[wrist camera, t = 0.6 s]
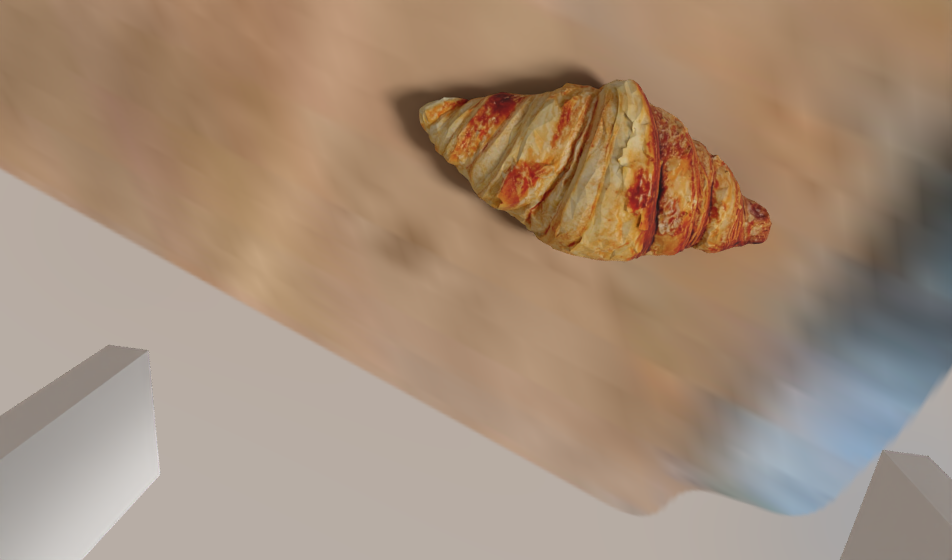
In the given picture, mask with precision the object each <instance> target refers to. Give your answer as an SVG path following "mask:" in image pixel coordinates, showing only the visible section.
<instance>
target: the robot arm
mask: <svg viewBox="0 0 952 560" xmlns="http://www.w3.org/2000/svg"><path fill="white" fill-rule="evenodd" d="M159 475H160V469H159V458H158V446H157V435H156V425H155V414H154V403H153V392H152V383H151V371H150V361H149V351H148V350H143V349H135V348H128V347H121V346H114V345H108V346H106V347H105V348H103V349H101V350H100V351H99V352H97V353H95V354H94V355H92V356H91V357H89V358H88V359H86V360H85V361H83V362H82V363H80V364H79V365H77V366H76V367H74V368H73V369H71V370H69V371H68V372H66V373H65V374H63V375H62V376H60V377H59V378H57V379H56V380H54V381H53V382H51V383H50V384H48V385H47V386H45V387H44V388H42V389H41V390H39V391H38V392H36V393H34V394H33V395H31V396H30V397H28V398H27V399H25V400H24V401H22V402H21V403H19V404H18V405H16V406H15V407H13V408H12V409H10V410H9V411H7V412H5V413H4V414H3V415H1V416H0V560H82V559H83V558H84V557H85V556H86V555H87V554H88V553H89V551H90V550H91V549H92V548H93V547H94V546H95V545H96V544H97V543H98V542H99V541H100V540H101V539H102V537H103V536H104V535H105V534H106V533H107V532H108V531H109V530H110V528H112V526H113V525H114V524H115V523H116V522H117V521H118V520H119V519H120V518H121V517H122V516H123V515H124V513H125V512H126V511H127V510H128V509H129V508H130V507H131V506H132V505H133V504H134V502H135V501H136V500H137V499H138V498H139V497H140V496H141V495H142V494H143V493H144V492H145V490H146V489H147V488H148V487H149V486H150V485H151V484H152V483H153V482H154V481H155V480H156V478H157V477H158V476H159ZM840 560H952V479H951V478H950V477H949V476H948V475H947V474H946V473H945V472H944V471H943V470H942V469H941V468H940V467H939V466H938V465H937V464H936V463H935V462H934V461H933V460H932V459H931V458H930V457H929V456H923V455H915V454H908V453H901V452H893V451H886V450H882V453H881V456H880V458H879V461H878V463H877V466H876V469H875V471H874V474H873V476H872V479H871V481H870V484H869V486H868V489H867V492H866V494H865V497H864V500H863V502H862V504H861V507H860V510H859V512H858V515H857V517H856V520H855V523H854V525H853V528H852V530H851V533H850V535H849V538H848V541H847V543H846V546H845V548H844V551H843V553H842V556H841V559H840Z"/></svg>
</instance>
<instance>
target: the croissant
mask: <svg viewBox="0 0 952 560" xmlns="http://www.w3.org/2000/svg"><path fill="white" fill-rule="evenodd" d="M419 119H420V123H421V126H422V127H423V128H424V130H425V131H426V132H427V133H428V134H429V138H430V141H431V142H432V143H433V144H435V150H436V151H437V152H438V153H439V154H440V155H443V157H444V158H445V159H446V161H447V162H448V163H450V164H453V165H455V166H456V167H457V169H458V171H459V172H460V173H461V174H462V175H463V176H465V177H466V178H467V179H468V181H469V182H470V183H471V186H472V188H473V190H474V191H475V193H476V194H477V195H478V197H479V198H481V199H482V200H484V201H485V202H486V203H487V204H488V205H490V206H492V207H493V208H496V209H498V210H504V211H506V212H508V213H509V214H510V216H514V217H515V218H516V219H518V220H519V221H520V222H521V223H522V224H524V225H525V226H526V227H527V229H528V230H529V231H533V232H534V234H535V235H536V237H537V238H538V239H539V240H540V241H542V242H543V243H546V244H548V245H550V246H551V247H552V248H553V249H556V250H559V251H562V252H565V253H568V254H571V255H575V256H579V257H586V258H590V259H595V260H604V261H612V260H617V261H629V260H632V259H634V258H638V257H640V256H644V255H656V256H658V255H675V254H676V253H678V252H681V251H683V250H684V249H685V248H689V247H693V248H695V249H699V250H703V251H704V252H706V253H717V252H720V251H723V250H726V249H729V248H732V247H739V246H744V245H746V244H748V243H749V244H760V243H763V242H764V241H766V240H767V237H768V234H769V231H770V227H771V224H772V223H771V221H770V217H769V214H768V212H767V210H766V209H765V208H764V207H762V206H761V205H759V204H758V203H756V202H755V201H752V200H750V199H747V198H746V197H744V196H743V195H741V191H740V187H739V184H738V183H737V181H736V179H735V178H734V176H733V173H732V172H731V170H730V169H729V168H728V166H727V165H726V164H725V163H724V162H723V161H722V160H721V159H720V158H719V156H718V155H712V154H710V153H709V152H708V151H707V149H706V147H705V146H704V145H703V144H702V143H700V142H699V141H696V140H692V139H691V137H690V135H689V133H688V128H686V127H685V126H684V125H683V123H682V122H681V121H680V120H679V119H678V118H676V117H675V116H673V115H672V114H670V113H668V112H666V111H665V110H663V109H661V108H658V107H655V106H653V105H652V104H650V103H649V102H648V100H647V98H646V96H645V94H644V92H643V91H642V89H641V87H640V86H639V84H637V83H636V82H635V81H634V80H631V79H629V80H625V81H622V80H615V81H612V82H610V83H608V84H605V85H603V86H602V87H600V88H599V89H596V88H594V87H591V86H589V85H585V86H583V85H577V84H571V83H566V84H565V85H564V86H563V87H562V88H558V89H556V90H555V91H551V92H545V93H542V94H535V95H520V94H514V93H505V92H501V93H497V94H493V95H488V96H486V97H479V98H474V99H471V100H470V101H469V100H467V99H462V98H454V97H452V98H442V99H441V100H436V101H432V102H429V103H427V104H425V105H424V106H423V107H421V108H420V109H419Z"/></svg>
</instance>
